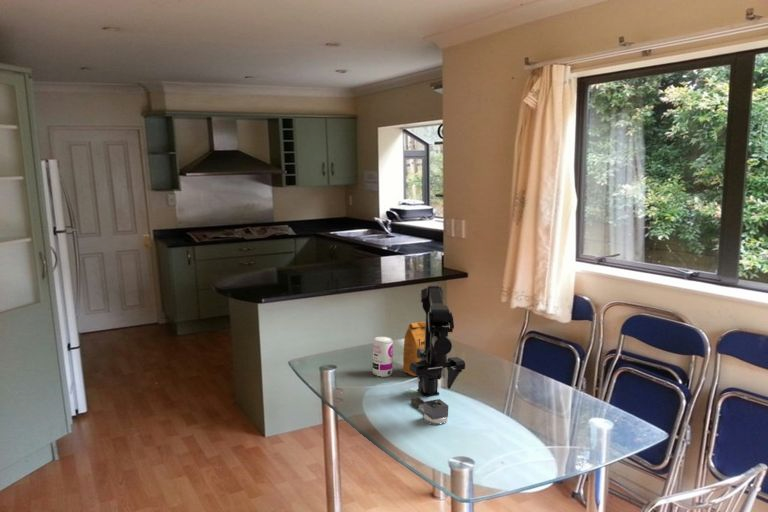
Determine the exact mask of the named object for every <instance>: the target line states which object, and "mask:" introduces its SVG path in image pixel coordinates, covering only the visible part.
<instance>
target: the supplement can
mask: <svg viewBox="0 0 768 512" xmlns="http://www.w3.org/2000/svg"><path fill="white" fill-rule="evenodd" d="M393 352H394V341H393V339H392V338H391V337H390V336H377V337H374V339H373V341H372V374H373V375H374V374H375V375H377V376H376V377H378V376H381V377H380V378H387V377H390V376H391V375H392V374H393V363H394V362H393V360H394V359H393V357H394V353H393ZM375 375H374V376H375Z"/></svg>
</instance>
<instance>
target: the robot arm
mask: <svg viewBox="0 0 768 512" xmlns="http://www.w3.org/2000/svg"><path fill="white" fill-rule="evenodd" d="M444 291H445V290H444V289H442V286H440V285H427V286H426V288H423V289H421V290H420V294H419V303H420V306H421V308H422V310H423V312H424V314H425V315H424V321H425V351H424V349H417V358H420V362H412V363H411V364H410V369H409V370H410V371H411V372H413V373H414V374H415V375H417V376H416V377H417V379H418V380H419V381H418V383H417V384H418V385H417V386H418V387H417V389H416V391H417V392H418V393H419V394H420V395H422V396H423V397H424V398H426V397H433V396H439V395H440V392H439V391H438V386H439V385H438V383H439V380H441V379H442V378H443V377H442V375H443V369H445V368H446V370H447V380H446V381H447V383H446V384H447V385H446V386H447V389H448V390H450V389H451V387H452V386H453V385H454V382H455V380H456V379H457V377H458V376H459V375H460V374H461V373H462V372H463V370H466V362H465V360H463V359H462V358H460V357H458V356H452V357H448V354H449V353H450V352H451V351H452V349H453V345H452V342H451V339H450V337H449V333H453V330H454V328H455V323H454V315H453V312H451V311H450V308H449V306H448V305H445V304H444V299H445V297H444V295H445V294H444ZM447 357H448V358H447Z"/></svg>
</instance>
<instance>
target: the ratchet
mask: <svg viewBox="0 0 768 512" xmlns="http://www.w3.org/2000/svg"><path fill="white" fill-rule="evenodd" d="M410 404H411V405H412V406H414V407H415V408H416V409H418V410H419V411H420V412H421V413H423V421H424V422H425V421H426V422H425V423H427V424H429V423H431V424H430V425H433V424H440V423H444V422H446V421H447V422H448V417H449V416H448V417H444V418H439V419H433V420H432V419H431V418H430V417H429V416H427V415H426V414H425V413H424V400H423V399H421V398H420V397H413V398H411V399H410ZM433 405H434V406H436V405H439V404H438V401H434V404H433ZM447 422H446V423H447Z"/></svg>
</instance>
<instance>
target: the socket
mask: <svg viewBox="0 0 768 512" xmlns="http://www.w3.org/2000/svg"><path fill="white" fill-rule="evenodd" d="M423 401H424V400H423ZM434 401H438V404H439V405H436V406H434V405H433V404H434ZM424 413H425V414H426V415H427V416H429V417H430V418H431V419H432V420H433V419H439V418H444V417H449V404H447V403H446V402H444V401H443V400H441V398H438V399H433V400H432V399H431V400H425V401H424ZM424 413H423V414H424Z"/></svg>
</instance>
